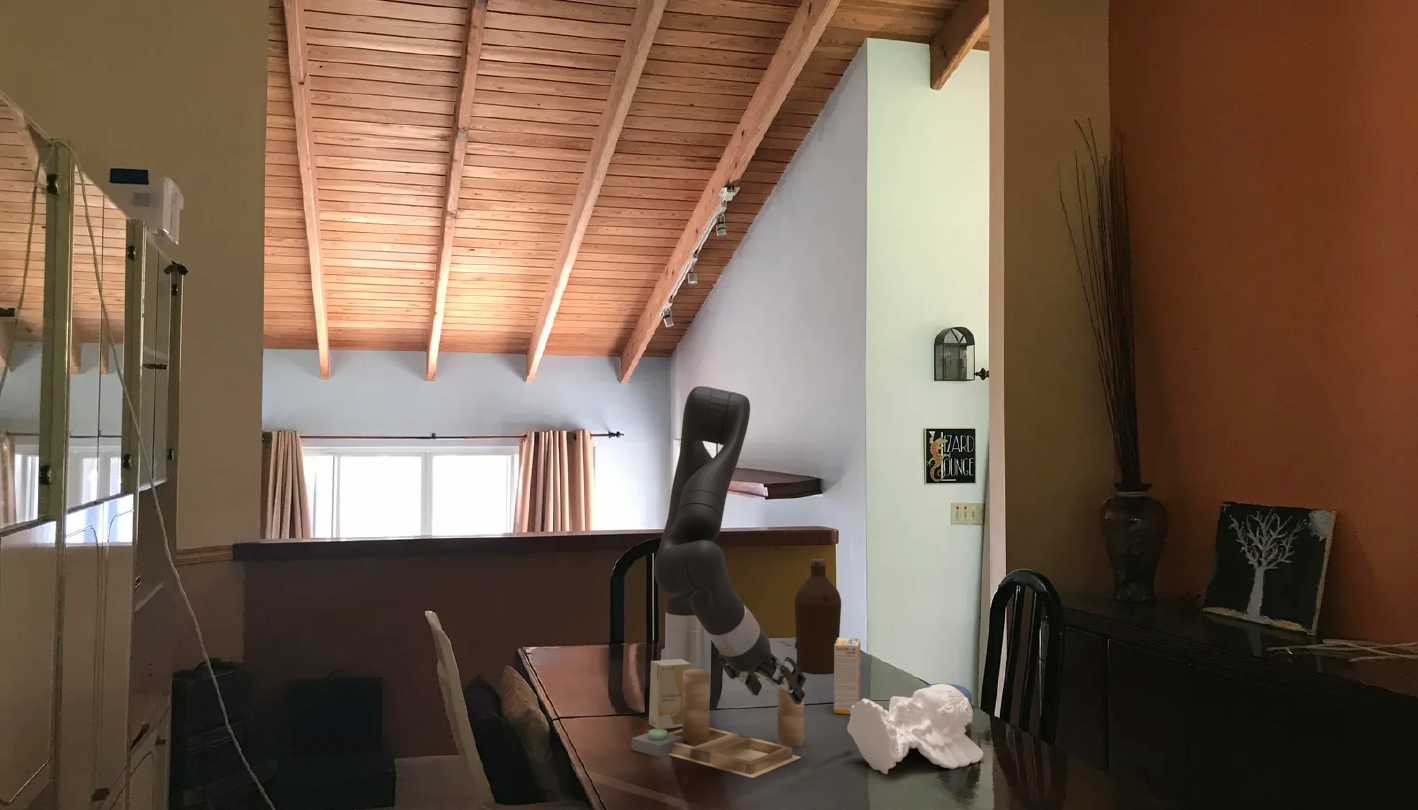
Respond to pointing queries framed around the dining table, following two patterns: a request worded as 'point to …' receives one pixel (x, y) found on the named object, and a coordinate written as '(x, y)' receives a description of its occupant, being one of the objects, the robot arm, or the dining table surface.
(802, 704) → the loose billet
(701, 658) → the robot arm
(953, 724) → the cherub figurine
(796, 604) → the olive oil
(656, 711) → the skincare box
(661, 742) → the block
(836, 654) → the supplement box
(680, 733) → the wooden tray
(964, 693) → the doughnut
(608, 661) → the dining table surface
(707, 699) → the cylinder
